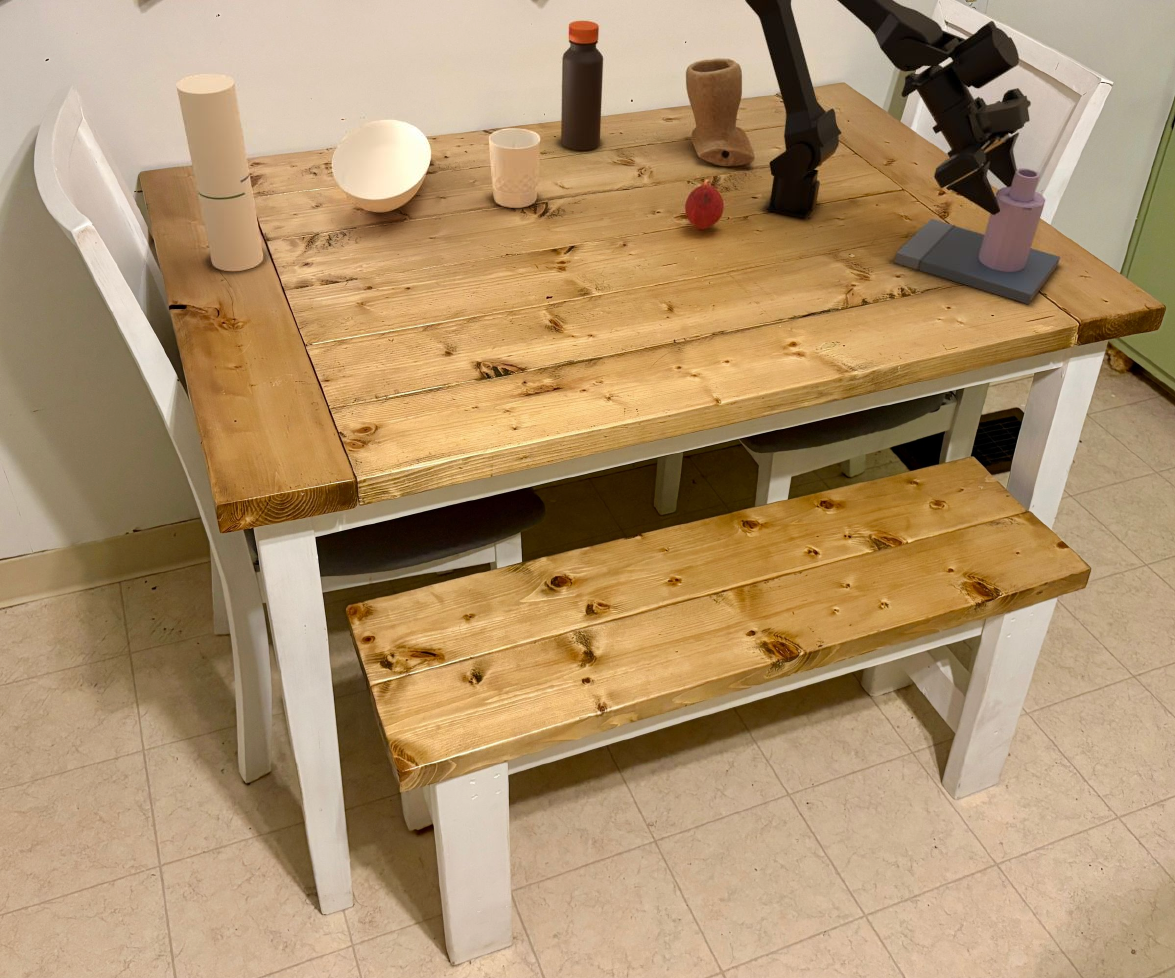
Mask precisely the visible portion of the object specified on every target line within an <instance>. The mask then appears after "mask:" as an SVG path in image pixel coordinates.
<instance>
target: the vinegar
mask: <svg viewBox="0 0 1175 978" xmlns="http://www.w3.org/2000/svg"><path fill="white" fill-rule="evenodd" d="M599 29H600V26H599V24H598V23H596V22H594V21H591V20H575V21H572V22H570V23H569V24H568V43H569V45H570V47H568V48H567V50H565V52H564V53H563V55H562V62H561V64H562V65H561V66H562V67H561V117H560V118H561V122H560V129H561V130H560V142H561V144H562V146H563V147H565V148H567V149H569V150H573V151H584V152H585V151H591V150H594V149H596V148H597V147H598V146H599V145H600V143H601V124H602V103H603V102H602V100H603V99H602V97H603V77H604V76H603V75H604V73H603V72H604V56H603V54H602V53H601V51H600V50H599V49H598V48H597V44H598V43H599V35H600V33H599V31H600V30H599Z"/></svg>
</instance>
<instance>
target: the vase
mask: <svg viewBox="0 0 1175 978" xmlns="http://www.w3.org/2000/svg"><path fill="white" fill-rule="evenodd" d="M1040 177H1041V174H1040V172H1038V171H1037V170H1034V169H1031V168H1017V170H1016V172H1015V175H1014V178H1013V182H1012V185H1011V187H1007V186H1006V187H1002V188H999V189H998V190H996V192H995V193H996V194H995V197H996V200H997V202H998V205H999V208H1000V212H999V213H997V214H995V215H992V214H991V213H989V217H988V222H987V225H986V228H985V233H984V239H983V242H982V246H981V249H980V253H979V260H980V262H981V263H982V264H984V265H985V266H987V267H989V268H991V269H994V270H998V271H1004V272H1015V271H1019V270H1022V269H1023V268H1024V267H1025V264H1026V261H1027V258H1028V255H1029V252H1030V249H1031V248H1032V246H1033V243H1034V239H1035V236H1036V232H1037V229H1038V227H1039V224H1040V221H1041V220H1040V219H1041V217H1042V213H1043V210H1044V207H1045V203H1046V198H1045V197H1044V196H1043V195H1042V194H1040V193H1039V192H1037V186H1038V183H1039V180H1040Z"/></svg>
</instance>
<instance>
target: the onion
mask: <svg viewBox="0 0 1175 978" xmlns="http://www.w3.org/2000/svg"><path fill="white" fill-rule="evenodd" d="M712 182H713V181H712V180H711V179H709V178H707V179H704V181H703V182H702V184H701V185H699V186H697V187H695V188H694V189H693V190H692V191H691V192H690V193H689V195H688V196H687V199H686V201H685V205H684V213H685V215H686V217H687V220H688V221H689V222H690V224H691V225H692V226H693V227H695V228H697V229H698V230H700V231H705V230H706V229H709V228H711V227H712V226H714V225H715V224H716V223H718V222H719V221H720V220H721V218H722V216H723V213H724V208H725V207H724V206H725V205H724V204H725V203H724V199H723V197H722V194H721V193H720V191H719V190H718V189H717V188H716V187H715V186H713V185H712Z"/></svg>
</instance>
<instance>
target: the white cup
mask: <svg viewBox="0 0 1175 978" xmlns="http://www.w3.org/2000/svg"><path fill="white" fill-rule="evenodd" d="M488 145H489V147H488V148H489V160H490V172H491V173H490V174H491V183H492V192H493V199H494V201H495V203H496V204H497V205H499V206H502V207H505V208H509V209H521V208H525V207H529V206H531V205H533V204H535V203H536V201H537V198H538V197H537V196H538V183H539V173H540V158H541V157H540V156H541V136H540V134H538V133H537V132H535V131H533V130H530V129H526V128H519V127H518V128H517V127H516V128H515V127H510V128H503V129H502V128H501V129H498V130H496V131H495V130H494V131H493V132H491V134H489V136H488Z"/></svg>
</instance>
